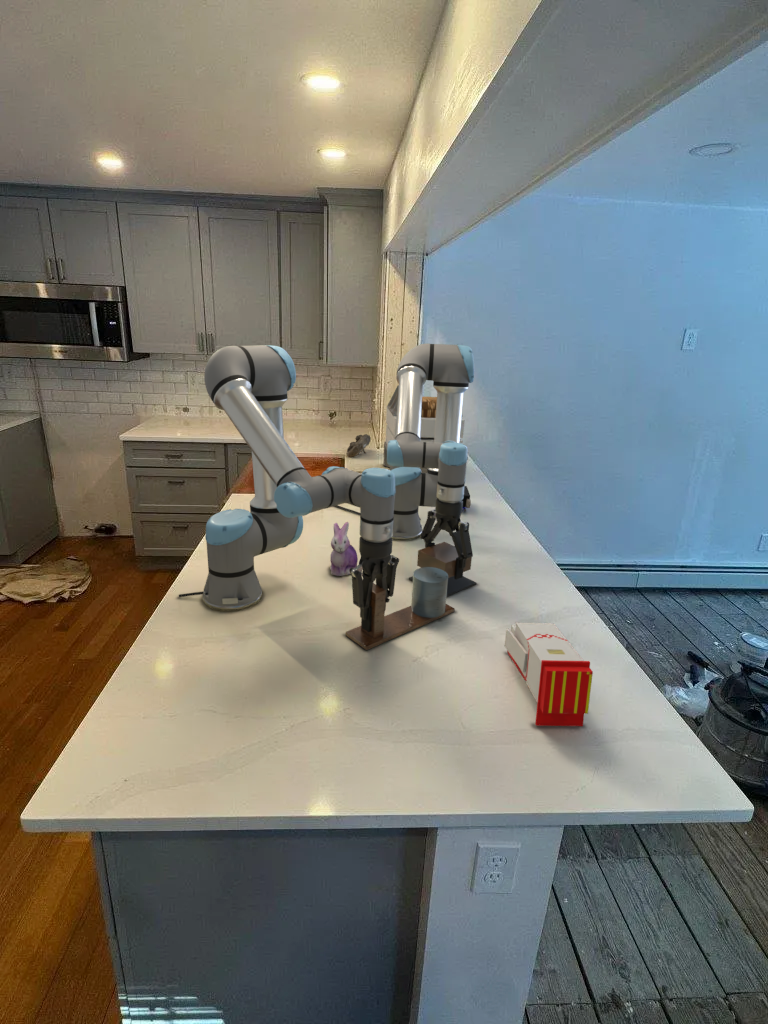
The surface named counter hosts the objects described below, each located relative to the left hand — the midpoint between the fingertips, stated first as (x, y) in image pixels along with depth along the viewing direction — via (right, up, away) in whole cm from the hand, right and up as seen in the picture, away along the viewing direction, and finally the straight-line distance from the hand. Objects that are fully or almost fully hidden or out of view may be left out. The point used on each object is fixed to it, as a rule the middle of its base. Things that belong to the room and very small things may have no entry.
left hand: (372, 626), depth 136 cm
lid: (+20, +11, +28) cm, 36 cm away
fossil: (-11, +59, +170) cm, 181 cm away
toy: (+36, -9, -14) cm, 40 cm away
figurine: (-9, +10, +34) cm, 37 cm away
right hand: (+20, +11, +28) cm, 36 cm away
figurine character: (+34, +29, +93) cm, 103 cm away
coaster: (+20, +7, +30) cm, 36 cm away
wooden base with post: (+7, 0, +7) cm, 10 cm away
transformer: (+20, +46, +139) cm, 148 cm away
